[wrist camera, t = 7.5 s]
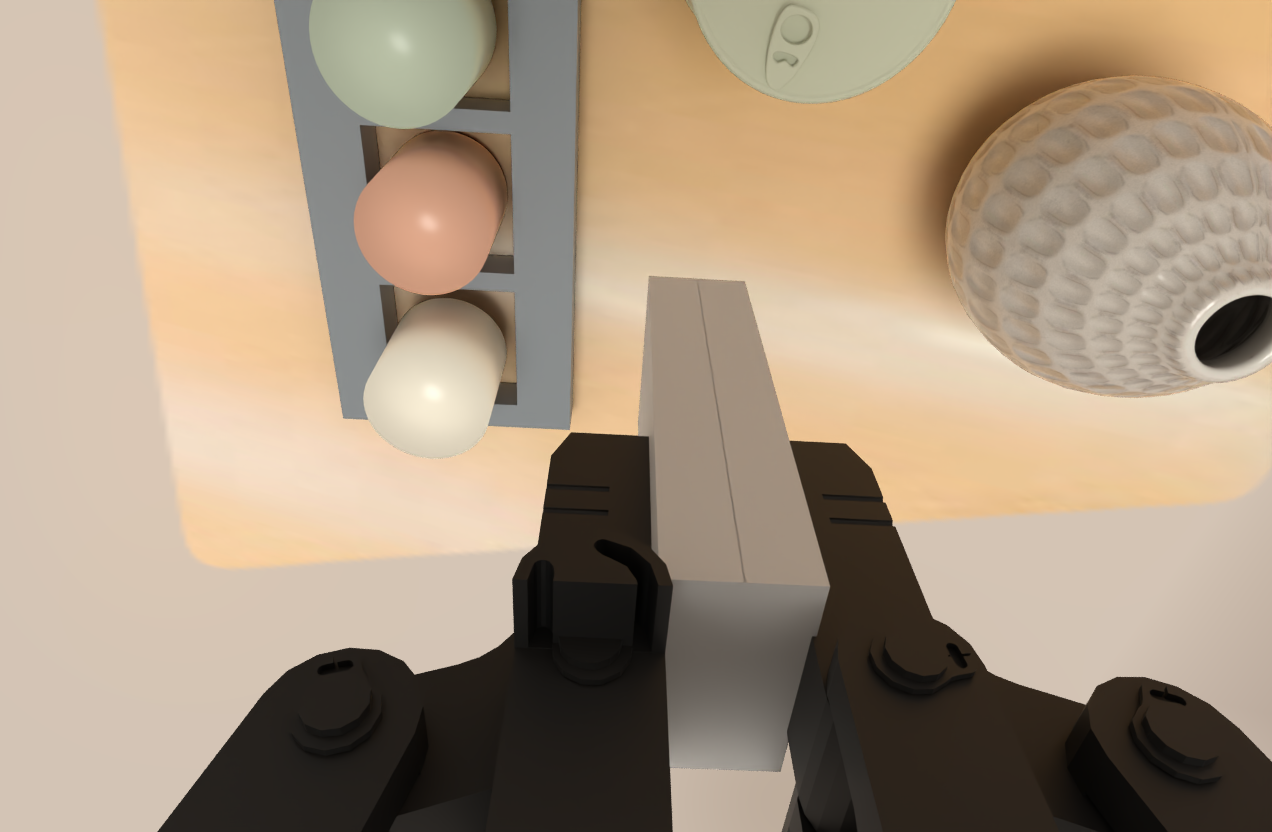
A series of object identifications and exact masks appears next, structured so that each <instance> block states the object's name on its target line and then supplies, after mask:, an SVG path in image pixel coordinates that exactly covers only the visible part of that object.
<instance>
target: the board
mask: <svg viewBox="0 0 1272 832" xmlns="http://www.w3.org/2000/svg"><path fill="white" fill-rule="evenodd" d="M312 1H313V0H274V3H275V9H276V15H277V21H278V27H279V33H280V39H281V45H282V51H283V57H284V63H285V69H286V75H287V81H288V87H289V93H290V99H291V105H292V112H293V118H294V124H295V130H296V136H297V142H298V148H299V154H300V160H301V166H302V172H303V178H304V184H305V190H306V196H307V202H308V208H309V214H310V220H311V226H312V232H313V238H314V244H315V250H316V256H317V262H318V268H319V274H320V280H321V286H322V292H323V298H324V304H325V310H326V317H327V323H328V329H329V335H330V341H331V347H332V353H333V359H334V365H335V371H336V377H337V383H338V389H339V395H340V401H341V407H342V413H343V418H345V419H365V420H368V417H367V415H366V412H365V408H364V401H363V396H364V389H365V385H366V383H367V381H368V378H369V377H370V375H371V373H372V371H373V369H374V368H375V366H376V364H377V362H378V360H379V358H380V357H381V355H382V353H383V351H384V349H385V348H386V346H387V344H388V342H389V340H390V339H391V337H392V335H393V333H394V331H395V329H396V328H397V326H398V324H397V315H396V306H395V297H394V288H393V284H391V283H390V282H388V281H387V280H385V279H384V278H383V277H382V276H380V275H379V274H378V273H377V272H376V271H375V270H374V269H373V268H372V267H371V265H370V264H369V263H368V262H367V260H366V259H365V257H364V255H363V254H362V252H361V250H360V248H359V245H358V242H357V239H356V236H355V231H354V211H355V207H356V203H357V201H358V198H359V196H360V194H361V192H362V191H363V189H364V188H365V187H366V185H367V184H368V183H369V182H370V181H371V180H372V179H373V178H374V176H375V175H376V174H377V173H378V172H379V171H380V164H379V155H378V146H377V138H376V129H375V126H382V125H379V124H376V123H374V122H371V121H369V120H367V119H365V118H363V117H362V116H360V115H358V114H357V113H355V112H354V111H353V110H351V109H350V108H349V107H348V106H346V105H345V104H344V103H343V102H342V101H341V100H340V99H339V98H338V97H337V96H336V95H335V94H334V92H333V91H332V90H331V88H330V87H329V86H328V84H327V83H326V81H325V79H324V78H323V76H322V74H321V72H320V70H319V68H318V66H317V64H316V61H315V58H314V55H313V52H312V47H311V43H310V35H309V16H310V10H311V5H312ZM580 25H581V0H508V30H509V72H510V100H497V99H482V98H466V97H462V99H461V100H460V101H459V102H458V103H457V105H456V106H455V107H454V108H453V109H452V110H451V111H450V112H449V113H448V114H446V115H445V116H444V117H442V118H441V119H439V120H438V121H435V122H433V123H431V124H429V125H426V126H422V127H418V128H416V129H432V130H448V131H464V132H480V133H496V134H511V157H512V200H513V242H514V256H502V255H488V256H487V259H486V261H485V263H484V265H483V267H482V269H481V270H480V272H479V273H478V275H477V276H476V277H475V278H474V279H473V280H472V281H471V282H469V283H468V284H467V285H465V286H464V287H462V288H460V289H467V290H485V291H503V292H515V327H516V369H517V383H500V384H499V388H498V391H497V395H496V399H495V402H494V406H493V409H492V413H491V417H490V420H489V424H488V426H503V427H523V428H543V429H562V430H570V424H571V415H572V406H573V359H574V311H575V263H576V216H577V168H578V121H579V73H580ZM384 127H386V126H384Z"/></svg>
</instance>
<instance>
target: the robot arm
mask: <svg viewBox="0 0 1272 832" xmlns="http://www.w3.org/2000/svg"><path fill="white" fill-rule="evenodd" d="M892 522H893V520H892V518H891V515H890V513H889V510H888V508H887V505H886V503H883V496H882V493H881V491H880V488H879V486H878V483H877V481H876V478H875V476H874V474H873V471H872V469H871V468H870V467H869V466H868V465H867V464H866V463H865V462H864V461H863V460H862V459H861V458H860V457H859V456H858V455H857V454H856V453H855V452H854V451H853V450H852V449H851V448H850V447H849V446H848V445H847V444H843V443H823V442H804V441H789V438H788V434H787V431H786V427H785V423H784V420H783V416H782V413H781V409H780V406H779V402H778V398H777V395H776V391H775V388H774V384H773V381H772V377H771V373H770V370H769V366H768V363H767V359H766V355H765V352H764V348H763V345H762V341H761V338H760V334H759V330H758V327H757V323H756V320H755V316H754V313H753V309H752V305H751V302H750V298H749V295H748V291H747V288H746V284H745V282H744V281H727V280H709V279H692V278H674V277H657V276H649V284H648V297H647V310H646V324H645V337H644V350H643V364H642V377H641V390H640V404H639V417H638V436H632V435H612V434H592V433H572V432H571V433H570V434H569V436H568V437H567V438H566V439H565V440H564V441H563V443H562V444H561V445H560V446H559V447H558V448H557V450H556V451H555V452H554V453H553V454H552V455H551V461H550V467H549V474H548V480H547V489H546V494H545V500H544V507H543V514H542V520H541V527H540V533H539V540H538V545H537V546H536V547H534V548H533V549H532V550H531V551H530V552H528V553H527V554H526V555H525V556H524V557H523V558H522V559H521V562H520V564H519V566H518V568H517V570H516V572H515V575H514V577H513V579H512V585H513V616H514V633H513V634H512V635H511V636H510V637H509V638H508V639H506V640H505V641H504V642H503V643H502V644H501V645H500V646H498V647H497V648H495V649H493V650H491V651H490V652H488V653H486V654H484V655H483V656H481V657H479V658H476V659H473V660H470V661H467V662H464V663H461V664H458V665H454V666H450V667H446V668H441V669H437V670H433V671H428V672H424V673H420V674H416V675H414V674H413V672H412V671H411V670H410V669H409V667H408V666H407V665H406V664H405V662H404V661H402V660H400V659H397V658H395V657H393V656H391V655H389V654H387V653H385V652H382V651H380V650H372V649H359V648H346V649H342V650H338V651H333V652H328V653H324V654H319V655H316V656H315V657H313V658H311V659H309V660H307V661H305V662H303V663H301V664H300V665H298V666H295V667H294V668H292V669H290V670H288V671H287V672H286V673H285V674H284V675H283V676H281V677H280V678H279V679H278V680H277V681H276V682H275V683H274V684H273V685H272V686H271V687H270V688H269V689H268V690H267V691H266V692H265V693H264V694H263V695H262V696H261V698H260V699H259V700H258V701H257V703H256V704H255V705H254V707H253V708H252V709H251V711H250V712H249V713H248V715H247V716H246V717H245V718H244V720H243V721H242V722H241V724H240V725H239V726H238V728H237V729H236V730H235V732H234V733H233V734H232V735H231V737H230V738H229V739H228V741H227V742H226V743H225V745H224V746H223V747H222V748H221V750H220V751H219V752H218V754H217V755H216V756H215V758H214V759H213V760H212V761H211V763H210V764H209V765H208V767H207V768H206V769H205V771H204V772H203V773H202V774H201V776H200V777H199V779H198V780H197V781H196V782H195V784H194V785H193V786H192V788H191V789H190V790H189V791H188V793H187V794H186V795H185V797H184V798H183V799H182V801H181V802H180V803H179V804H178V806H177V807H176V808H175V810H174V811H173V812H172V814H171V815H170V816H169V817H168V819H167V820H166V821H165V823H164V824H163V825H162V827H161V828H160V829H159V831H158V832H673V830H672V806H671V784H670V783H671V782H670V768H693V769H719V770H748V771H773V772H780V771H781V767H782V764H783V760H784V756H785V753H786V749H787V745H788V742H789V747H790V752H791V758H792V764H793V769H794V775H795V780H796V784H795V788H794V791H793V795H792V798H791V802H790V805H789V809H788V812H787V815H786V819H785V822H784V826H783V829H782V832H1272V762H1271V761H1270V759H1268V758H1267V757H1266V756H1265V754H1264V753H1263V752H1262V751H1260V749H1259V748H1257V746H1256V745H1255V744H1254V743H1253V742H1252V741H1251V740H1250V739H1249V738H1248V737H1247V736H1246V735H1245V734H1244V733H1243V732H1242V731H1241V730H1240V729H1239V728H1238V727H1237V726H1235V725H1234V724H1233V723H1232V722H1231V721H1229V720H1228V719H1227V718H1226V717H1224V716H1223V715H1222V714H1221V713H1219V712H1218V711H1217V710H1216V709H1215V708H1214V707H1212V706H1211V705H1210V704H1208V703H1206V702H1205V701H1203V700H1201V699H1199V698H1197V697H1195V696H1193V695H1192V694H1190V693H1188V692H1186V691H1184V690H1182V689H1180V688H1179V687H1176V686H1173V685H1170V684H1166V683H1163V682H1159V681H1156V680H1152V679H1149V678H1146V677H1116V678H1114V679H1112V680H1109V681H1107V682H1105V683H1103V684H1101V685H1098V686H1097V687H1096V689H1095V690H1094V692H1093V694H1092V696H1091V697H1090V699H1089V701H1088V703H1087V704H1086V705H1084V704H1081V703H1078V702H1075V701H1071V700H1068V699H1065V698H1062V697H1058V696H1055V695H1052V694H1048V693H1045V692H1042V691H1038V690H1035V689H1032V688H1028V687H1025V686H1022V685H1019V684H1016V683H1013V682H1011V681H1008V680H1006V679H1003V678H1001V677H998V676H995V675H994V674H992V673H990V672H988V671H987V669H986V667H985V665H984V664H983V662H982V661H981V659H980V658H979V656H978V655H977V654H976V652H975V651H974V649H973V648H972V646H971V645H970V644H969V643H968V642H967V641H966V640H965V639H963V638H962V637H961V636H959V635H958V634H957V633H956V632H955V631H953V630H952V629H951V628H950V627H949V626H947V625H945V624H943V623H941V622H939V621H937V620H934V619H933V617H932V615H931V613H930V611H929V608H928V606H927V603H926V601H925V598H924V596H923V593H922V591H921V589H920V586H919V584H918V581H917V579H916V576H915V574H914V572H913V569H912V567H911V564H910V562H909V559H908V557H907V554H906V552H905V549H904V547H903V544H902V542H901V540H900V537H899V535H898V532H897V530H896V527H893V526H892Z"/></svg>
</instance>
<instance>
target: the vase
mask: <svg viewBox="0 0 1272 832" xmlns="http://www.w3.org/2000/svg"><path fill="white" fill-rule="evenodd" d="M945 242H946V256H947V263H948V268H949V273H950V277H951V281H952V285H953V287H954V289H955V291H956V293H957V296H958V298H959V300H960V302H961V304H962V306H963V308H964V310H965V312H966V313H967V315H968V316H969V318H970V319H971V320H972V322H973V323H974V324H975V326H976V327H977V328H978V330H979V331H980V332H981V333H982V334H983V336H984V337H985V338H986V339H987V340H988V341H989V342H990V343H991V344H992V345H993V346H994V347H995V348H996V349H997V350H998V351H1000V352H1001V353H1002V354H1003V355H1004V356H1006V357H1007V358H1008V359H1009V360H1011V361H1012V362H1013V363H1014V364H1016V365H1017V366H1019V367H1021V368H1022V369H1024V370H1026V371H1027V372H1029V373H1031V374H1033V375H1035V376H1037V377H1039V378H1042V379H1044V380H1046V381H1049V382H1051V383H1054V384H1057V385H1059V386H1062V387H1064V388H1068V389H1072V390H1077V391H1081V392H1086V393H1091V394H1096V395H1100V396H1111V397H1125V398H1142V397H1155V396H1165V395H1171V394H1176V393H1181V392H1186V391H1189V390H1192V389H1195V388H1199V387H1202V386H1205V385H1208V384H1211V383H1223V382H1230V381H1235V380H1238V379H1241V378H1245V377H1247V376H1249V375H1252V374H1254V373H1256V372H1258V371H1259V370H1261V369H1263V368H1265V367H1266V366H1267V365H1269V364H1270V363H1272V127H1271V126H1270V125H1269V124H1268V123H1266V122H1265V121H1264V120H1263V119H1262V118H1260V117H1259V116H1258V115H1256V114H1255V113H1253V112H1252V111H1250V110H1249V109H1247V108H1246V107H1244V106H1243V105H1241V104H1240V103H1238V102H1236V101H1234V100H1232V99H1230V98H1228V97H1226V96H1224V95H1222V94H1220V93H1217V92H1215V91H1212V90H1209V89H1207V88H1204V87H1202V86H1199V85H1195V84H1191V83H1187V82H1184V81H1180V80H1175V79H1169V78H1162V77H1154V76H1140V75H1129V76H1118V77H1108V78H1102V79H1095V80H1090V81H1086V82H1082V83H1078V84H1074V85H1070V86H1067V87H1065V88H1062V89H1060V90H1057V91H1055V92H1053V93H1050V94H1048V95H1046V96H1044V97H1042V98H1040V99H1039V100H1037V101H1035V102H1033V103H1032V104H1030V105H1028V106H1026V107H1025V108H1023V109H1022V110H1020V111H1019V112H1018V113H1016V114H1015V115H1014V116H1012V117H1011V118H1010V119H1008V120H1007V121H1006V122H1004V123H1003V124H1002V125H1001V126H999V127H998V128H997V129H996V130H995V131H994V132H993V133H992V134H991V135H990V136H989V137H988V138H987V139H986V140H985V142H984V143H983V144H982V145H981V147H980V148H979V149H978V150H977V151H976V153H975V154H974V155H973V157H972V159H971V160H970V162H969V163H968V165H967V167H966V168H965V170H964V172H963V174H962V176H961V178H960V181H959V183H958V185H957V187H956V190H955V192H954V194H953V197H952V201H951V205H950V208H949V212H948V215H947V223H946V231H945Z"/></svg>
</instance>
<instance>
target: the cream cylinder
mask: <svg viewBox="0 0 1272 832" xmlns="http://www.w3.org/2000/svg"><path fill="white" fill-rule="evenodd" d="M506 354H507V351H506V344H505V340H504V337H503V334H502V332H501V330H500V329H499V327H498V325H497V324H496V323H495V321H494V320H493V319H492V318H491V317H490V316H489V315H488V314H486V313H485V312H484V311H483V310H481V309H480V308H478V307H476V306H474V305H472V304H470V303H468V302H465V301H462V300H458V299H452V298H436V299H431V300H427V301H424V302H421V303H419V304H417V305H416V306H414V307H412V308H411V309H410V310H409V311H408V312H407V313H406V314H405V315H404V316H403V318H402V319H401V321H400V322H399V324H398V326H397V328H396V329H395V331H394V333H393V335H392V337H391V339H390V340H389V342H388V344H387V346H386V348H385V349H384V351H383V353H382V355H381V357H380V358H379V360H378V362H377V364H376V366H375V368H374V369H373V371H372V373H371V375H370V377H369V378H368V381H367V383H366V385H365V389H364V396H363V401H364V408H365V412H366V415H367V417H368V420H369V422H370V423H371V425H372V427H373V428H374V429H375V431H376V432H377V433H378V434H379V435H380V436H381V437H382V438H383V439H384V440H385V441H386V442H388V443H389V444H390V445H392V446H393V447H395V448H397V449H399V450H401V451H403V452H405V453H407V454H410V455H414V456H417V457H422V458H430V459H441V458H449V457H453V456H456V455H459V454H462V453H464V452H466V451H468V450H469V449H471V448H472V447H474V446H475V445H476V444H477V443H478V442H479V441H480V439H481V438H482V437H483V435H484V433H485V432H486V429H487V427H488V424H489V420H490V417H491V413H492V409H493V406H494V402H495V399H496V395H497V391H498V388H499V384H500V381H501V377H502V373H503V370H504V366H505V362H506Z"/></svg>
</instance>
